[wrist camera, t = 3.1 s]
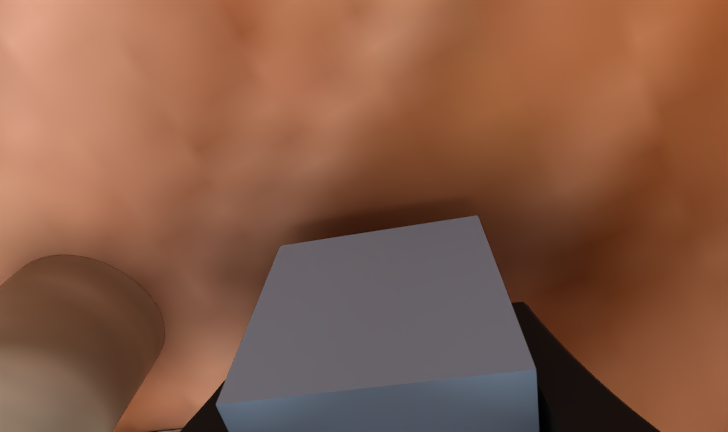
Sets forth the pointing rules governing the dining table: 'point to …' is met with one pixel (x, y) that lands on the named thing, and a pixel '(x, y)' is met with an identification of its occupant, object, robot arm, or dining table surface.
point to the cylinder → (73, 345)
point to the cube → (384, 339)
